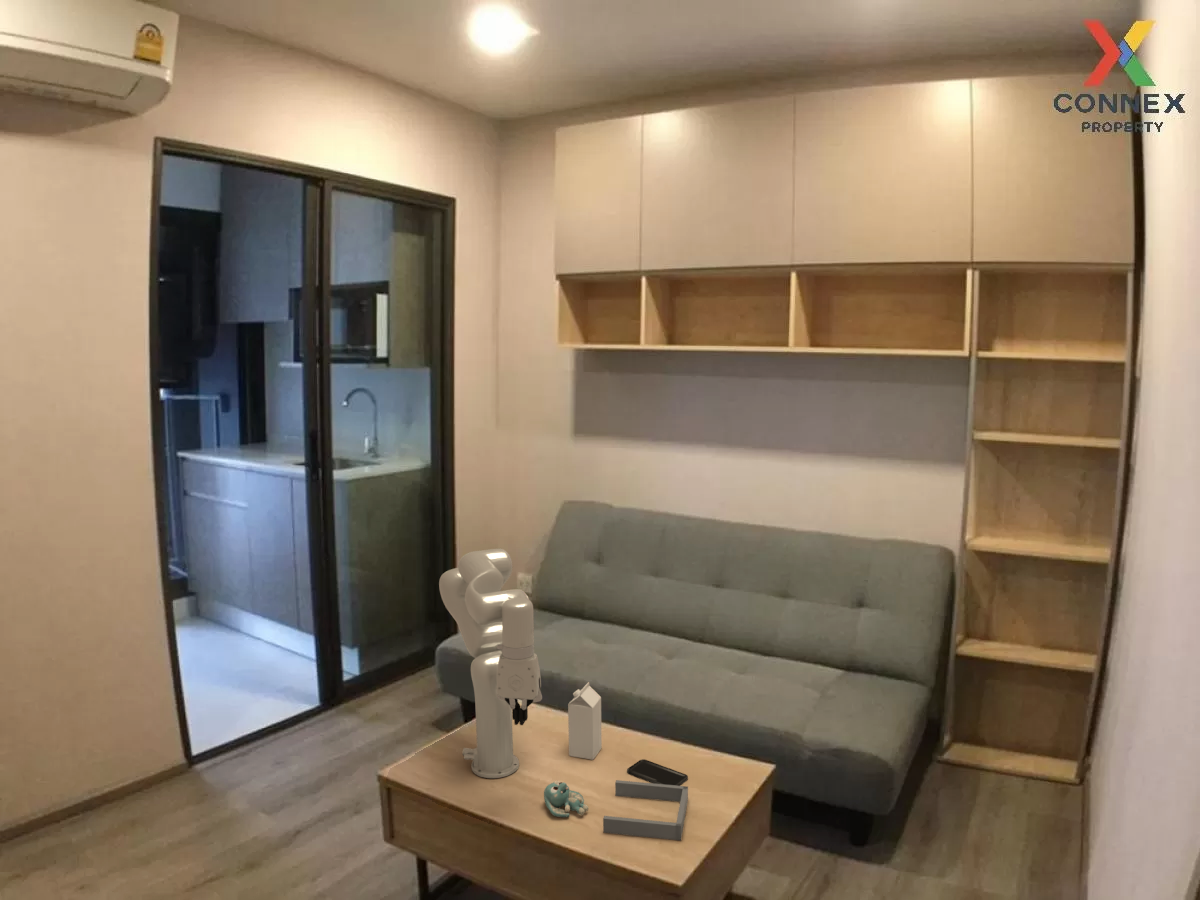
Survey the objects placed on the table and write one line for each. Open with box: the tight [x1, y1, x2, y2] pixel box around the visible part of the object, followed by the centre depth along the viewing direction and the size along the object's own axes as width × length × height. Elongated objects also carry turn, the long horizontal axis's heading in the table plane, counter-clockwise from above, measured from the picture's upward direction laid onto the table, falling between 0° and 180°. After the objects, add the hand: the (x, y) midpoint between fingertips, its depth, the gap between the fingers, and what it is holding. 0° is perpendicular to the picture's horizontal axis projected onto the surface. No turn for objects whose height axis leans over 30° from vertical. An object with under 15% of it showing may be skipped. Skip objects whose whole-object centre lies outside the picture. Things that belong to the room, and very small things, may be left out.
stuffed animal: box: [543, 780, 589, 819], centre depth 210 cm, size 11×7×12 cm
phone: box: [626, 758, 689, 786], centre depth 225 cm, size 8×1×15 cm
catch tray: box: [602, 779, 689, 842], centre depth 206 cm, size 18×17×4 cm
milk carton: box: [567, 681, 602, 761], centre depth 237 cm, size 7×7×19 cm
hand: (520, 722), depth 210 cm, fingers closed
